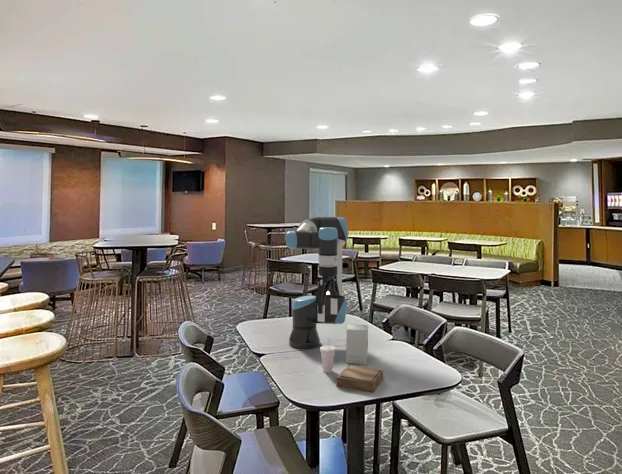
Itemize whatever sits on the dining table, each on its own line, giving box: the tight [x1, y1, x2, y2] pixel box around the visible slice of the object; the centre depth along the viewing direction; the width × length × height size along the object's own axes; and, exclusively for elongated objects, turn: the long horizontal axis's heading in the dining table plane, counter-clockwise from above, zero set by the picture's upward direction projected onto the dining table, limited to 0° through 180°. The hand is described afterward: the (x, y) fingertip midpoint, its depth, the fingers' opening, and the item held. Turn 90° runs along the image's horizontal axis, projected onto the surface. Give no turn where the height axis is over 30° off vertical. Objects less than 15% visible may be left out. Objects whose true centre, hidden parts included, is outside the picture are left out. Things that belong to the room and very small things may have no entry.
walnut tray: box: [335, 364, 384, 394], centre depth 167 cm, size 14×14×4 cm
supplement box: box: [345, 323, 369, 365], centre depth 191 cm, size 9×9×15 cm
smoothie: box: [319, 337, 336, 374], centre depth 178 cm, size 6×6×14 cm
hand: (327, 317), depth 177 cm, fingers open, 13 cm apart
